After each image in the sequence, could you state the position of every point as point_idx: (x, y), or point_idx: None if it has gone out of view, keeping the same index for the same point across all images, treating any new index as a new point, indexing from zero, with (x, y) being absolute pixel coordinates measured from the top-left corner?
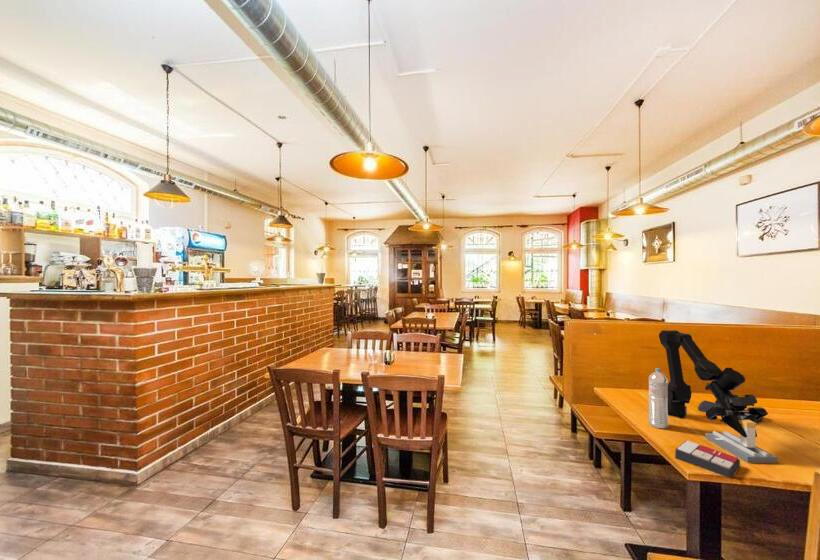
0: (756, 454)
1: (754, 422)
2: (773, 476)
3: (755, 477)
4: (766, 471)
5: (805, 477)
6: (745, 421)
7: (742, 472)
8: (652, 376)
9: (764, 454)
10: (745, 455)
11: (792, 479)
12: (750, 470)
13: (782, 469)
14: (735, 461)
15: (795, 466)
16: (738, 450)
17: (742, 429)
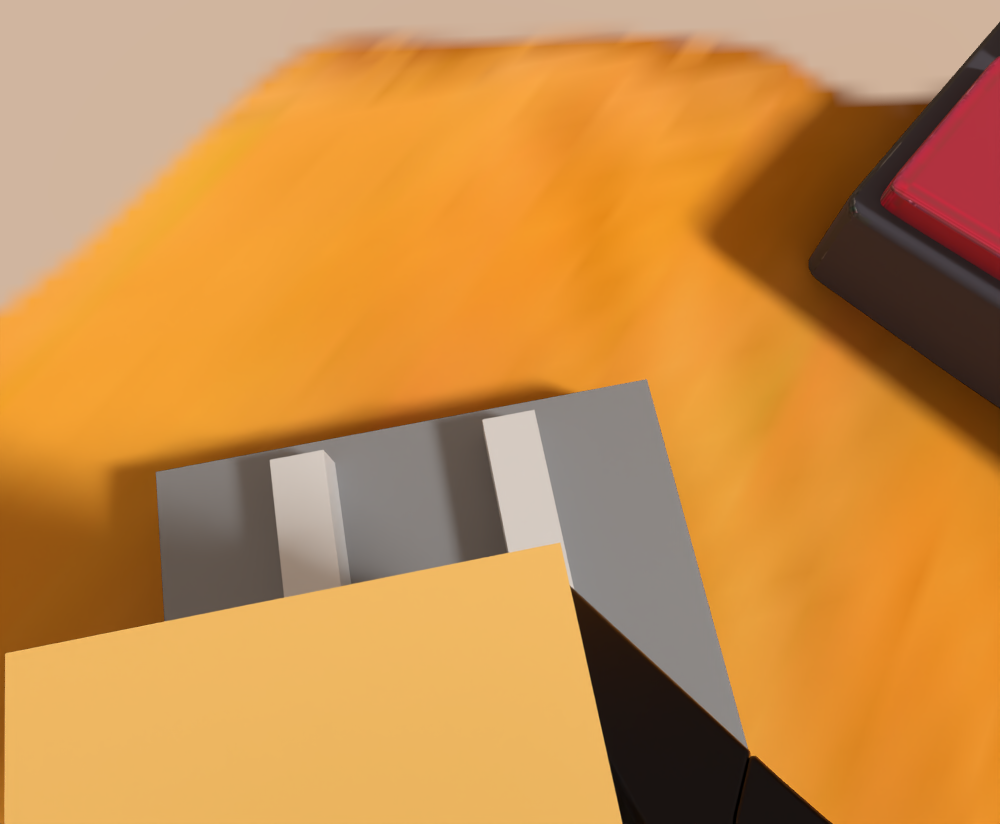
0: (484, 427)
1: (45, 670)
2: (527, 127)
3: (748, 68)
4: (529, 224)
5: (161, 178)
6: (524, 734)
7: (837, 143)
8: None
9: (333, 475)
10: (650, 425)
11: (356, 107)
12: (714, 208)
13: (280, 317)
14: (962, 97)
15: (20, 441)
16: (662, 605)
17: (622, 692)
